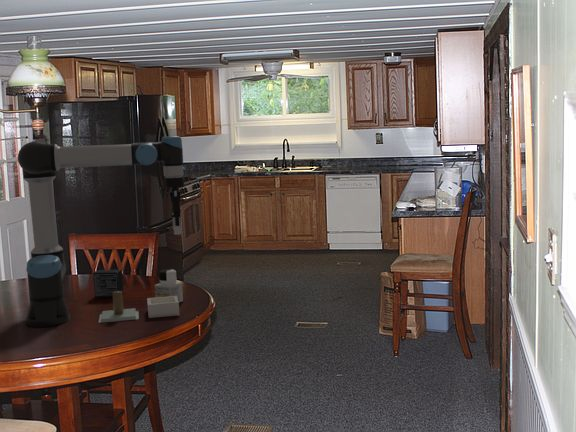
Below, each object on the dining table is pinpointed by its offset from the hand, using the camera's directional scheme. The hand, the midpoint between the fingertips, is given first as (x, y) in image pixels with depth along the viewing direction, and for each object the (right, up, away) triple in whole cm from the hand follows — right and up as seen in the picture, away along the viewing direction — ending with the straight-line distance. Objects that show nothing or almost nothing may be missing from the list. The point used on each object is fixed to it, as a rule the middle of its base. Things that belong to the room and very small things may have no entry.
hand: (177, 231), depth 298 cm
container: (-3, -28, +3) cm, 28 cm away
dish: (-3, -30, -14) cm, 33 cm away
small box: (-31, -27, +20) cm, 45 cm away
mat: (-19, -31, -17) cm, 40 cm away
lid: (-19, -31, -17) cm, 39 cm away
